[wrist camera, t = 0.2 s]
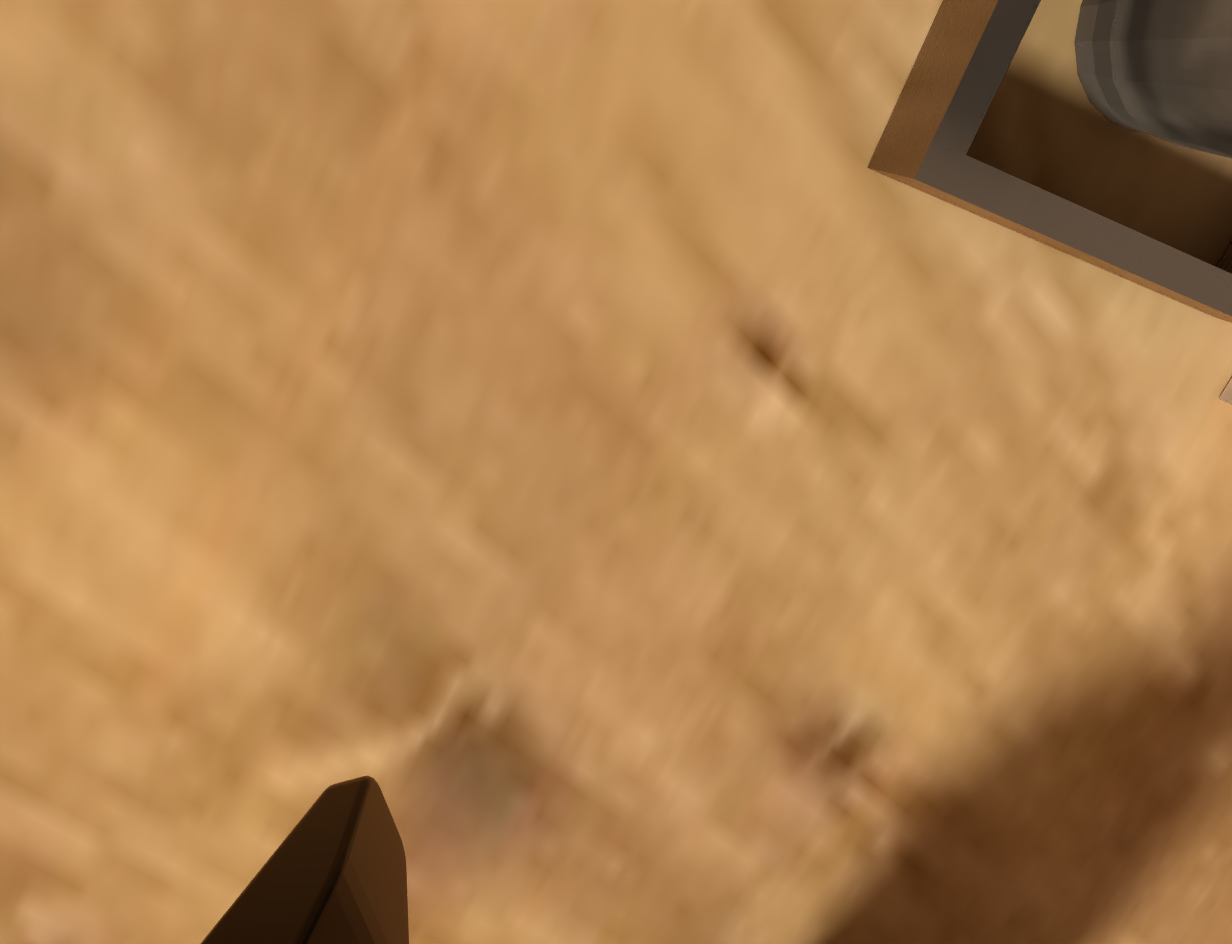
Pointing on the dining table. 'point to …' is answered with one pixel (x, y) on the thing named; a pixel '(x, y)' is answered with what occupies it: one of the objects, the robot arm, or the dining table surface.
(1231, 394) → the cream white tray
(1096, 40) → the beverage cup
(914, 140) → the grey-brown square frame
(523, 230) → the dining table surface
